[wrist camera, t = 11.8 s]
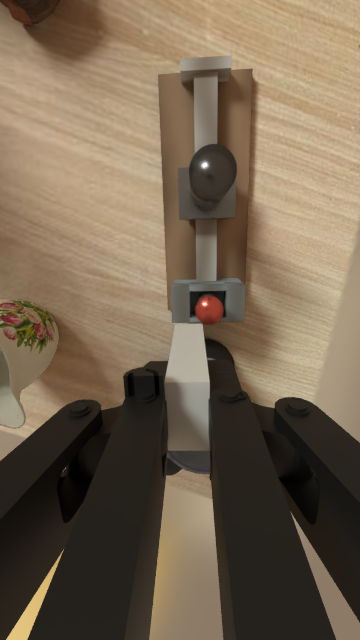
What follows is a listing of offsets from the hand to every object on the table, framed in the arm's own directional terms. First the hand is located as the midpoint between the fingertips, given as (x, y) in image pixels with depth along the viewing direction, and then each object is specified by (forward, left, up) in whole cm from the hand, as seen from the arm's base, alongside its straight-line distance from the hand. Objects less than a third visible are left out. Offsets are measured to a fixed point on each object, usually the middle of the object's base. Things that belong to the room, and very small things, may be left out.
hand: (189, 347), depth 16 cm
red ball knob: (+2, -1, -18) cm, 18 cm away
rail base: (+2, +10, -23) cm, 25 cm away
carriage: (+2, +10, -21) cm, 24 cm away
